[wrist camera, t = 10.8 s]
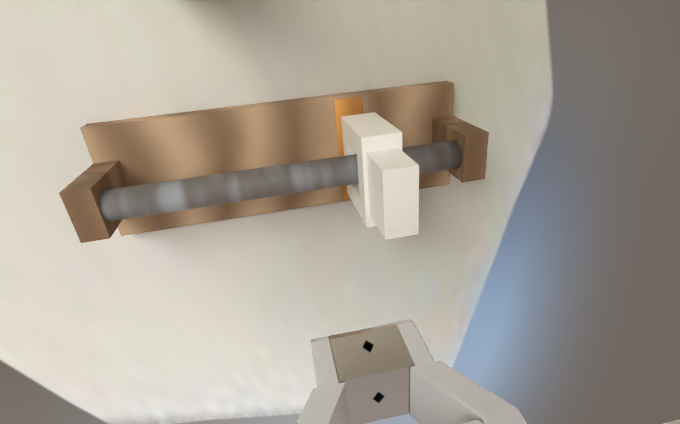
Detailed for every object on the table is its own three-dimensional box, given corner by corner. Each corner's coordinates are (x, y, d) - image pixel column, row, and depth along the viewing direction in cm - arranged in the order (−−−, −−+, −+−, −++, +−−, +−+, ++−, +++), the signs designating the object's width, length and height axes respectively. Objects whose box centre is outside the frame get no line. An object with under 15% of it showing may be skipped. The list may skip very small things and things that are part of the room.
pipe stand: (126, 228, 37) (95, 276, 30) (87, 124, 33) (40, 151, 26) (443, 178, 42) (481, 210, 34) (446, 80, 37) (491, 94, 30)
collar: (347, 192, 37) (381, 254, 27) (341, 116, 34) (377, 154, 24) (377, 188, 37) (422, 247, 27) (374, 112, 34) (423, 147, 24)
